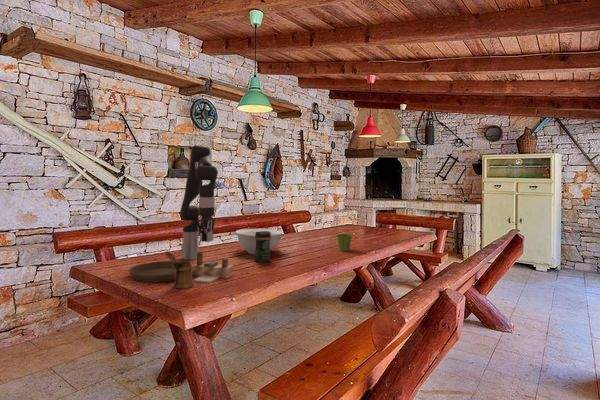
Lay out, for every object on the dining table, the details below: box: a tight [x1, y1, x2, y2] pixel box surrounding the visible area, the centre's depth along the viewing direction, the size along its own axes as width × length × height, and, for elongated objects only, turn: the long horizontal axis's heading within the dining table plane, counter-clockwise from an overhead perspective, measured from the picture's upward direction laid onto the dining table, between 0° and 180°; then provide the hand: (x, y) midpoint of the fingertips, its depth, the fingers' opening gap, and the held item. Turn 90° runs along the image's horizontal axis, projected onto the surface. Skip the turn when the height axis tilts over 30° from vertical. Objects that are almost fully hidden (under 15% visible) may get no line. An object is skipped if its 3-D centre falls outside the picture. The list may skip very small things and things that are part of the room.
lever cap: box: [199, 230, 214, 243], centre depth 187 cm, size 5×4×5 cm
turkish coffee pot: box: [165, 250, 195, 290], centre depth 174 cm, size 9×14×18 cm, turn 137°
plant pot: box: [335, 233, 354, 252], centre depth 271 cm, size 12×12×11 cm
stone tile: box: [193, 275, 219, 284], centre depth 188 cm, size 9×9×1 cm
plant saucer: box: [128, 260, 193, 283], centre depth 195 cm, size 31×31×5 cm
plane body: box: [191, 250, 234, 279], centre depth 197 cm, size 20×7×12 cm, turn 77°
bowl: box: [235, 228, 283, 255], centre depth 258 cm, size 32×32×15 cm
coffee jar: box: [253, 231, 271, 263], centre depth 232 cm, size 10×8×19 cm
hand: (206, 240), depth 187 cm, fingers closed on lever cap, 4 cm apart
